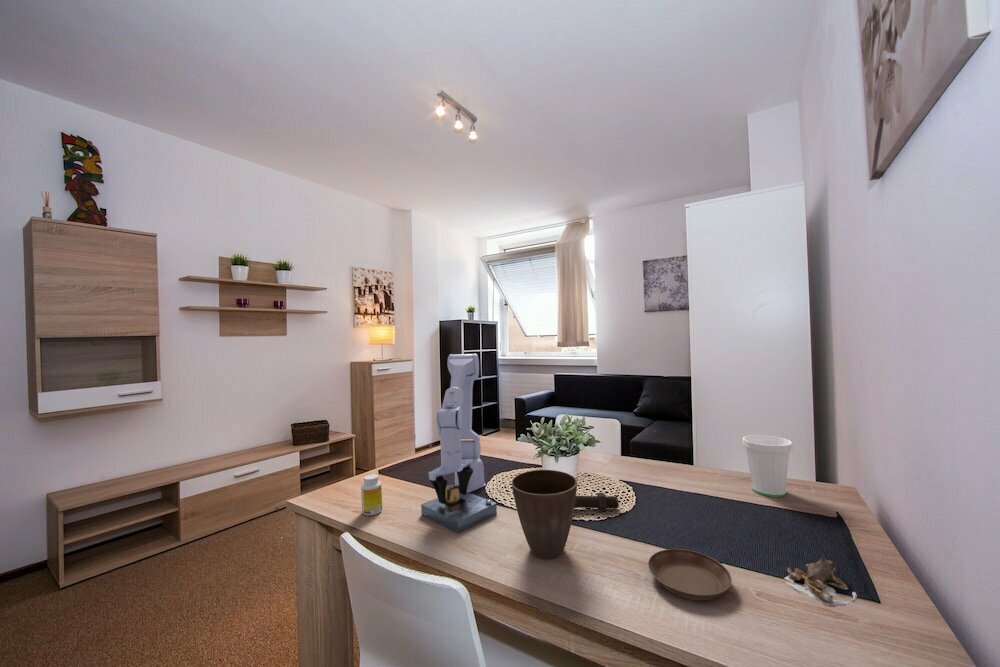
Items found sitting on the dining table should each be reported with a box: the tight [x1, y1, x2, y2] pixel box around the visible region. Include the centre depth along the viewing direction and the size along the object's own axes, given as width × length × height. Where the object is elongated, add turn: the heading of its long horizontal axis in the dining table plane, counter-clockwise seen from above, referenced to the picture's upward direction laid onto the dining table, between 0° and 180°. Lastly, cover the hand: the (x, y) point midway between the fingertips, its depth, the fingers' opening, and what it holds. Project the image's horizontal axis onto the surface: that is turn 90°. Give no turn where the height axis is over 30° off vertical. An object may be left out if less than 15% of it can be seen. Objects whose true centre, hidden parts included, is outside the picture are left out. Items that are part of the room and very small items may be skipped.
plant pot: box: [511, 469, 578, 560], centre depth 91 cm, size 15×15×16 cm
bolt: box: [574, 492, 620, 512], centre depth 111 cm, size 6×5×15 cm
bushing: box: [446, 484, 460, 507], centre depth 113 cm, size 4×4×7 cm
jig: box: [420, 491, 498, 534], centre depth 111 cm, size 14×16×4 cm
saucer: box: [647, 548, 733, 601], centre depth 78 cm, size 15×15×3 cm
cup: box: [741, 434, 794, 498], centre depth 118 cm, size 12×12×15 cm
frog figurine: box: [783, 557, 858, 606], centre depth 76 cm, size 12×12×4 cm
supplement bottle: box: [360, 474, 383, 517], centre depth 115 cm, size 6×6×10 cm
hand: (452, 498), depth 113 cm, fingers open, 7 cm apart
